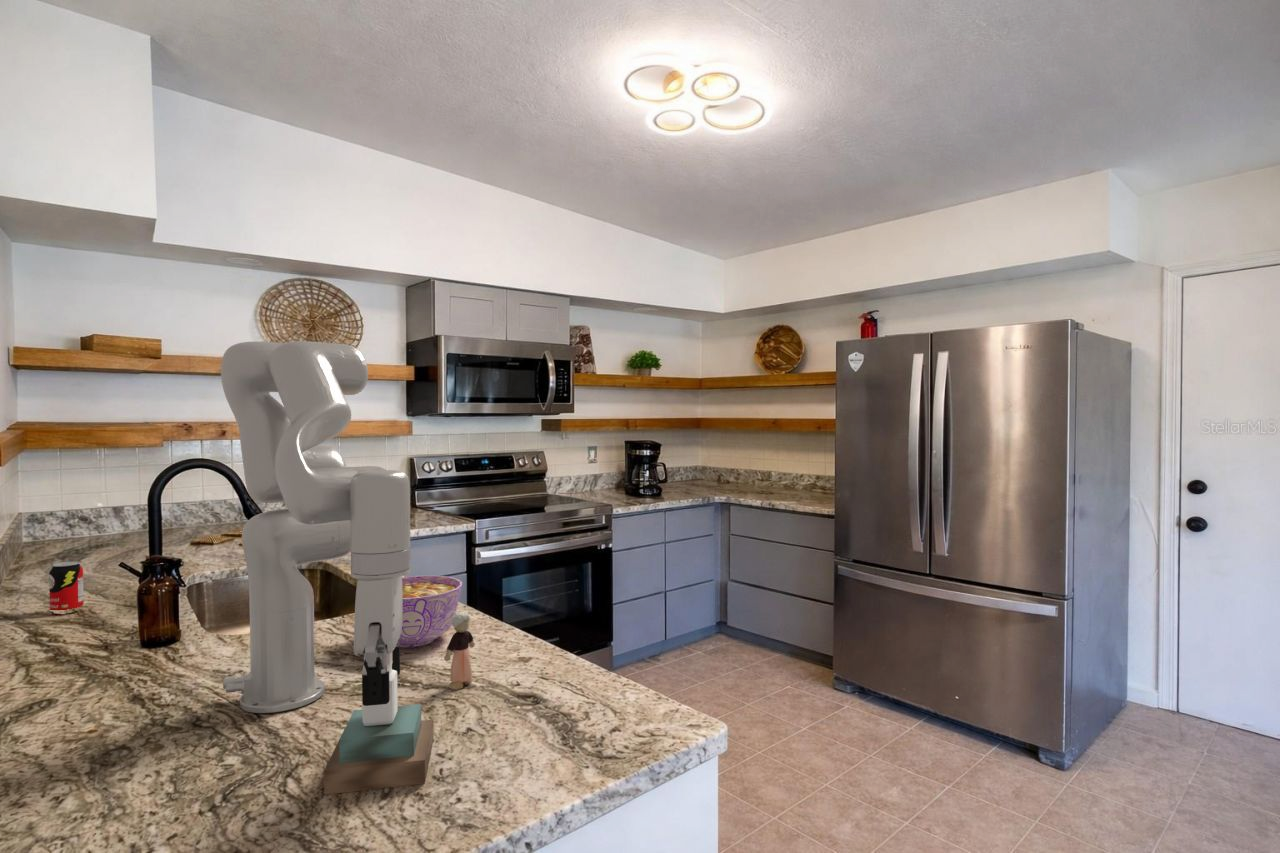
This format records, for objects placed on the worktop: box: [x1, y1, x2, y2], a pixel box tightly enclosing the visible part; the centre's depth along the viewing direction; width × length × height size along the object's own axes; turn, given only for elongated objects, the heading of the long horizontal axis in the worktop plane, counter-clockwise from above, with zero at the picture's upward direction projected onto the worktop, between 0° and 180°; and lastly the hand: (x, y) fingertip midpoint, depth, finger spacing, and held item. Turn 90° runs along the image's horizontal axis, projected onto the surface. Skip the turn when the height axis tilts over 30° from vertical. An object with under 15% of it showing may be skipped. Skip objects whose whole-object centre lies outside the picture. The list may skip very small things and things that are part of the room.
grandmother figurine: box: [443, 611, 476, 690], centre depth 119 cm, size 8×4×13 cm, turn 168°
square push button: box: [323, 703, 434, 795], centre depth 91 cm, size 12×12×6 cm
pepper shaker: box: [361, 647, 399, 726], centre depth 91 cm, size 4×4×10 cm
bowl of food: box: [397, 575, 463, 648], centre depth 143 cm, size 20×20×12 cm
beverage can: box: [48, 560, 84, 611], centre depth 166 cm, size 6×6×12 cm
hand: (382, 689), depth 91 cm, fingers open, 9 cm apart
